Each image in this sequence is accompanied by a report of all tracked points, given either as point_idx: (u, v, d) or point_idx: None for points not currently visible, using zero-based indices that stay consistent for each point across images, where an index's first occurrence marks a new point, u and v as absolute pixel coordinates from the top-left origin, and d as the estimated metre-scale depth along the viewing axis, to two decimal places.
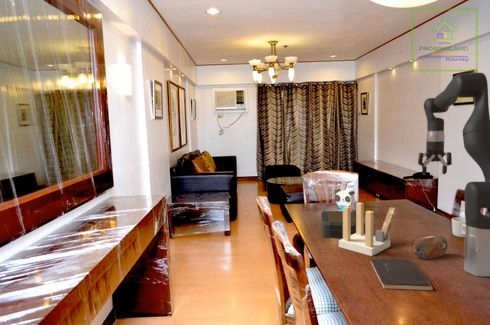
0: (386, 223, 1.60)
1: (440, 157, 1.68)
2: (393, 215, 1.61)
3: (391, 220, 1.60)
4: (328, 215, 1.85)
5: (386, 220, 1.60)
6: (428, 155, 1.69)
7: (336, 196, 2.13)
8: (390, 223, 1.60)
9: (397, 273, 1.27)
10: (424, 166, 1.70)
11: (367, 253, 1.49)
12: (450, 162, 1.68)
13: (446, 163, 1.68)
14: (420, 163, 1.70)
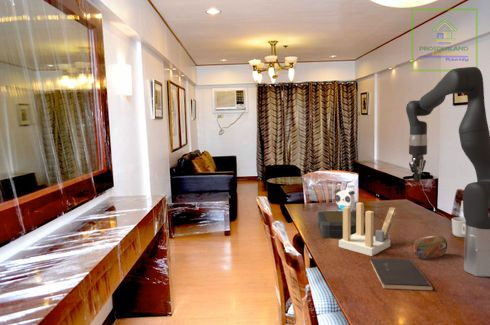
0: (386, 223, 1.60)
1: None
2: (393, 215, 1.61)
3: (391, 220, 1.60)
4: (325, 215, 1.85)
5: (386, 220, 1.60)
6: None
7: (336, 196, 2.13)
8: (390, 223, 1.60)
9: (397, 273, 1.27)
10: None
11: (367, 253, 1.49)
12: None
13: None
14: None
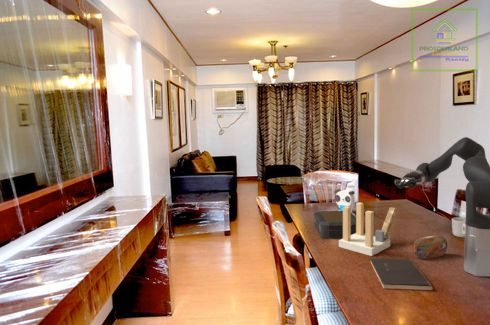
0: (386, 223, 1.60)
1: (409, 178, 1.73)
2: (393, 215, 1.61)
3: (391, 220, 1.60)
4: (323, 215, 1.84)
5: (386, 220, 1.60)
6: (401, 179, 1.76)
7: (336, 196, 2.13)
8: (390, 223, 1.60)
9: (397, 273, 1.27)
10: (400, 182, 1.71)
11: (367, 253, 1.49)
12: (410, 181, 1.69)
13: (405, 181, 1.70)
14: (398, 181, 1.73)
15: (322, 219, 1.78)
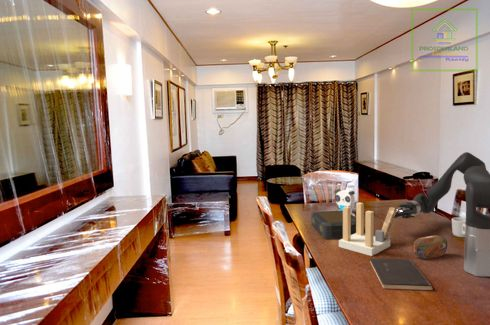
0: (386, 223, 1.60)
1: (404, 208, 1.68)
2: (393, 215, 1.61)
3: (391, 220, 1.60)
4: (322, 216, 1.84)
5: (386, 220, 1.60)
6: None
7: (336, 196, 2.13)
8: (390, 223, 1.60)
9: (396, 273, 1.27)
10: None
11: (367, 253, 1.49)
12: (404, 212, 1.65)
13: (399, 211, 1.66)
14: None
15: (323, 219, 1.77)
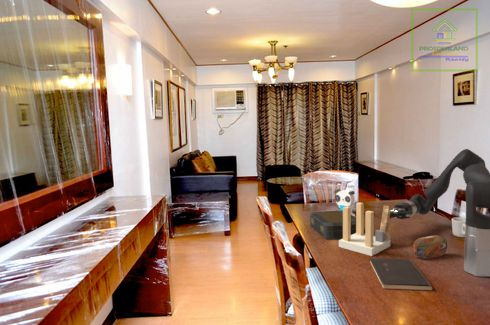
0: (383, 223, 1.58)
1: (399, 209, 1.65)
2: (388, 213, 1.58)
3: (387, 219, 1.58)
4: (322, 216, 1.83)
5: (382, 220, 1.58)
6: (391, 209, 1.68)
7: (336, 196, 2.13)
8: (387, 222, 1.58)
9: (396, 273, 1.27)
10: None
11: (367, 253, 1.49)
12: (399, 212, 1.61)
13: (395, 212, 1.62)
14: None
15: (323, 220, 1.76)
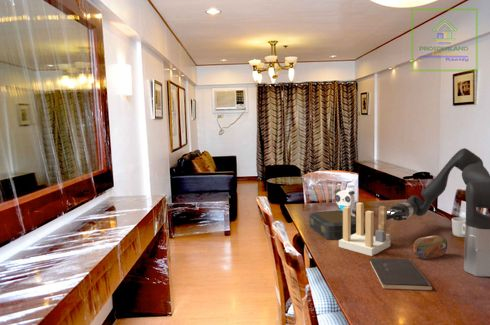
0: (381, 225, 1.56)
1: (396, 210, 1.62)
2: (385, 214, 1.56)
3: (384, 220, 1.56)
4: (321, 216, 1.83)
5: (380, 222, 1.57)
6: (387, 211, 1.65)
7: (336, 196, 2.13)
8: (384, 223, 1.56)
9: (396, 273, 1.27)
10: None
11: (367, 253, 1.49)
12: (395, 214, 1.59)
13: (391, 213, 1.60)
14: None
15: (324, 220, 1.76)
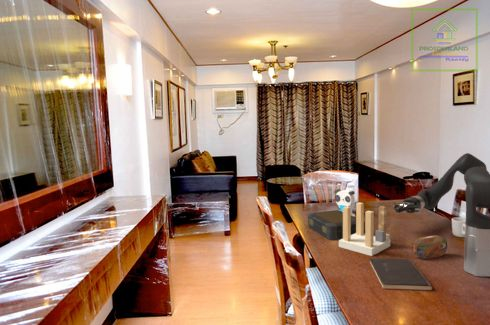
0: (381, 225, 1.56)
1: (408, 203, 1.71)
2: (385, 214, 1.56)
3: (384, 220, 1.56)
4: (321, 217, 1.82)
5: (380, 222, 1.57)
6: (400, 204, 1.74)
7: (336, 196, 2.13)
8: (384, 223, 1.56)
9: (396, 273, 1.27)
10: (399, 206, 1.69)
11: (367, 253, 1.49)
12: (408, 206, 1.67)
13: (404, 206, 1.68)
14: (396, 205, 1.71)
15: (325, 220, 1.75)
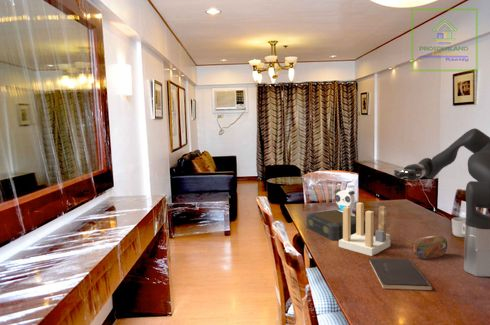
0: (381, 225, 1.56)
1: (409, 170, 1.69)
2: (385, 214, 1.56)
3: (384, 220, 1.56)
4: (321, 217, 1.81)
5: (380, 222, 1.57)
6: (401, 170, 1.72)
7: (336, 196, 2.13)
8: (384, 223, 1.56)
9: (396, 273, 1.27)
10: (399, 172, 1.67)
11: (367, 253, 1.49)
12: (409, 172, 1.66)
13: (405, 172, 1.67)
14: None
15: (326, 221, 1.74)
